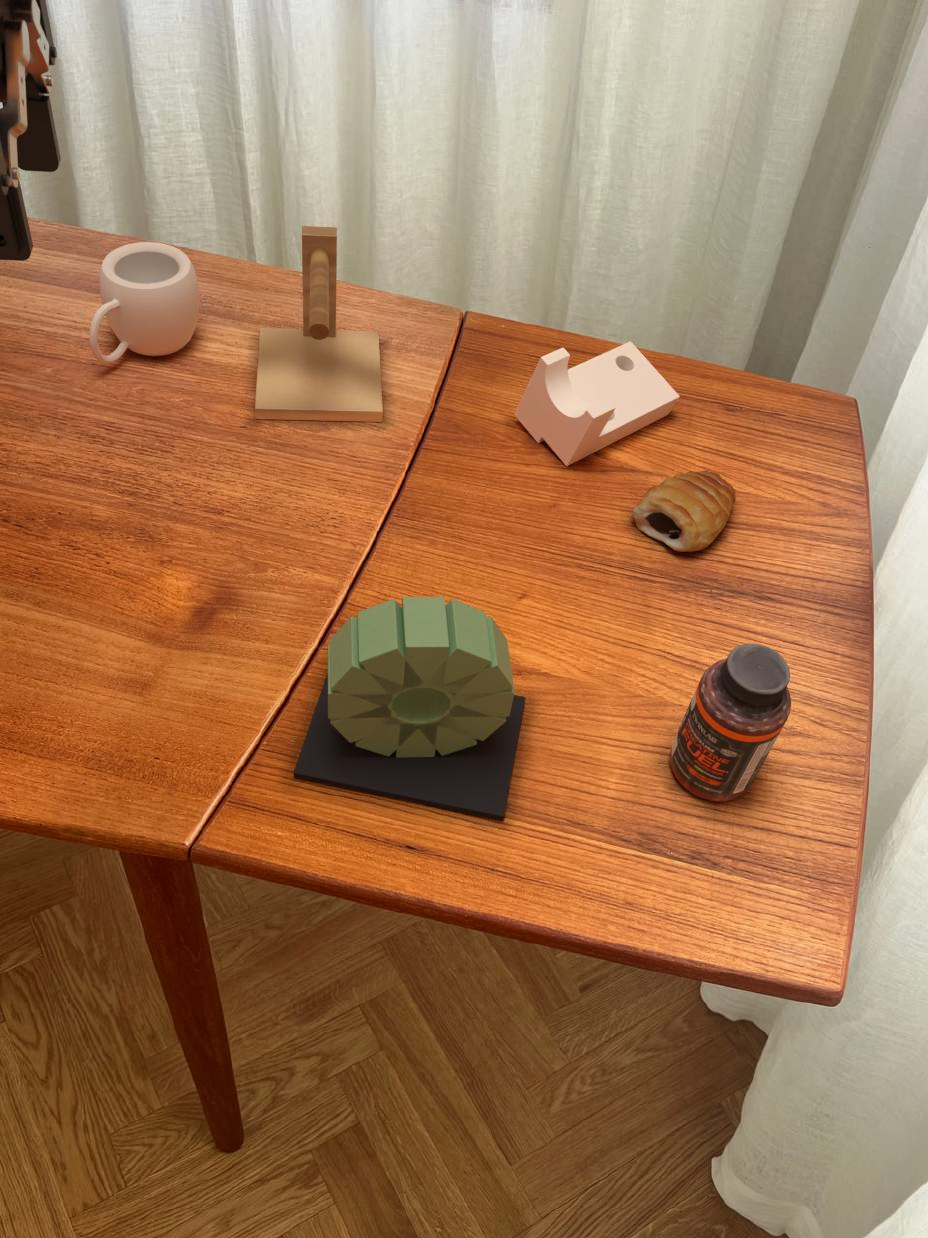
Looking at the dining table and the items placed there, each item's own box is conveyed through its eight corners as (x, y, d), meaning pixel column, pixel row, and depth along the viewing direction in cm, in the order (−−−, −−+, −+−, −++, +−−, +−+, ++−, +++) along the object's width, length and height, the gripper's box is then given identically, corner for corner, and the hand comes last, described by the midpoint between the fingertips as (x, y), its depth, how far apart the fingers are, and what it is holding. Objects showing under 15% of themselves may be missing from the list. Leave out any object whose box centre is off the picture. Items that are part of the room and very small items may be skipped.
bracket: (562, 472, 97) (593, 418, 91) (514, 414, 99) (540, 357, 92) (663, 420, 103) (699, 366, 97) (616, 366, 105) (647, 310, 99)
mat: (293, 777, 73) (293, 772, 72) (332, 663, 80) (332, 657, 79) (502, 821, 72) (503, 816, 72) (524, 702, 79) (525, 696, 78)
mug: (151, 302, 106) (141, 226, 100) (222, 334, 104) (216, 259, 98) (60, 362, 99) (44, 284, 93) (135, 398, 97) (123, 320, 91)
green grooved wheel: (501, 756, 75) (524, 646, 66) (327, 759, 73) (328, 647, 65) (495, 708, 77) (516, 596, 69) (327, 710, 76) (328, 596, 67)
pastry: (685, 473, 97) (697, 439, 94) (750, 513, 95) (764, 479, 92) (623, 524, 92) (633, 490, 89) (690, 567, 89) (702, 534, 87)
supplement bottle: (650, 770, 76) (691, 666, 68) (695, 719, 79) (740, 614, 71) (725, 822, 74) (777, 721, 65) (768, 767, 77) (823, 664, 69)
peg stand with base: (382, 425, 97) (388, 312, 89) (255, 423, 96) (248, 307, 87) (377, 340, 106) (382, 228, 97) (260, 336, 104) (255, 223, 96)
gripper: (-112, -230, 48) (-24, 139, 60) (-217, -126, 39) (-88, 286, 51) (68, -214, 49) (119, 146, 61) (8, -108, 39) (82, 293, 52)
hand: (25, 210), depth 56 cm, fingers open, 8 cm apart
